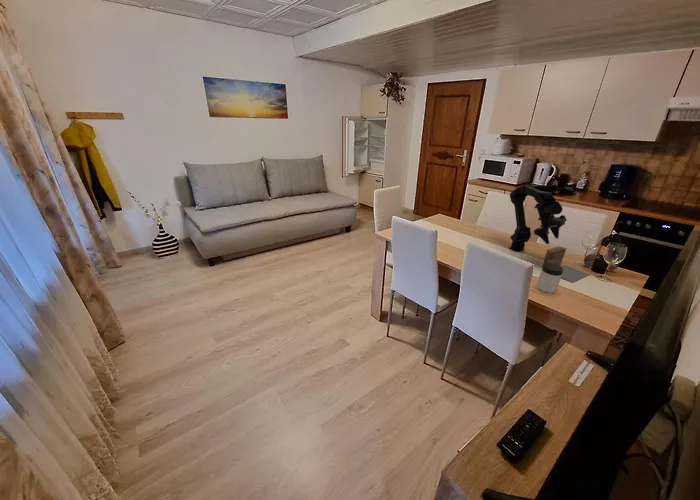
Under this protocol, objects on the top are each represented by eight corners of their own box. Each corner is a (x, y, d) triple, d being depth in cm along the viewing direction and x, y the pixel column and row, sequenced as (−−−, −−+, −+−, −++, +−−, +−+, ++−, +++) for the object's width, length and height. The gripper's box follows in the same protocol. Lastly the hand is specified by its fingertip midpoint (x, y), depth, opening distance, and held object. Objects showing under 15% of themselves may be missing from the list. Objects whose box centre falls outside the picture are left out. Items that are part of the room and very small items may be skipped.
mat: (546, 272, 161) (546, 271, 161) (563, 265, 169) (564, 264, 169) (572, 282, 151) (572, 282, 151) (589, 274, 159) (589, 274, 159)
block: (541, 267, 166) (547, 249, 162) (552, 263, 172) (558, 246, 167) (548, 270, 163) (554, 252, 158) (560, 266, 168) (566, 248, 164)
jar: (537, 291, 143) (545, 269, 138) (533, 282, 150) (540, 261, 145) (558, 294, 141) (567, 272, 136) (553, 286, 148) (561, 264, 143)
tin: (582, 266, 168) (587, 253, 165) (581, 264, 171) (586, 251, 167) (615, 273, 162) (621, 259, 159) (613, 270, 165) (619, 257, 161)
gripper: (550, 217, 153) (558, 245, 154) (570, 207, 160) (577, 234, 162) (529, 220, 163) (537, 247, 164) (549, 211, 170) (556, 236, 172)
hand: (552, 241), depth 165 cm, fingers open, 9 cm apart
